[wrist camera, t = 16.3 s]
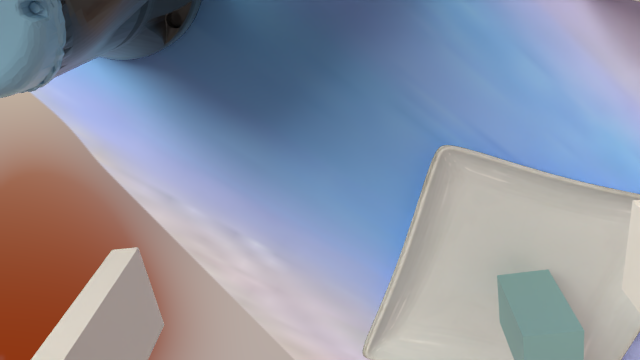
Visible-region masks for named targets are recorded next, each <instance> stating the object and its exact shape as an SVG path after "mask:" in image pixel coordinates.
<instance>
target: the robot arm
mask: <svg viewBox="0 0 640 360" xmlns="http://www.w3.org/2000/svg"><path fill="white" fill-rule="evenodd" d="M200 4H201V0H0V98H3V97H7V96H11V95H13V94H16V93H24V92H27V91H28V92H31V91H35V90H36V89H38V88H39V87H43V86H45V85H46V84H47V83H49V82H50V81H51V80H52V79H53V78H55V77H57V76H59V75H61V74H63V73H65V72H68V71H70V70H72V69H74V68H76V67H78V66H80V65H82V64H84V63H86V62H89V61H91V60H93V59H95V58H97V57H103V58H107V59H114V60H131V59H138V58H143V57H147V56H150V55H152V54H155V53H157V52H159V51H161V50H162V49H164V48H166V47H168V46H169V45H171V44H172V43H174V42H175V41H176V40H178V39H179V38H180V37H181V36H182V35H183V34H184V33H185V32H186V30H187V29H188V28H189V26H190V25H191V23H192V22H193V20H194V18H195V16H196V14H197V12H198V9H199V7H200ZM622 290H623V291H624V293H625V294H626V295H627V297H628V298H629V299H630V301H631V302H632V303H633V305H634V306H635V307H636V309H637V310H638V311H639V313H640V200H633V201H632V209H631V217H630V225H629V233H628V241H627V249H626V257H625V265H624V273H623V281H622ZM163 326H164V323H163V320H162V317H161V314H160V311H159V308H158V305H157V302H156V299H155V296H154V293H153V290H152V287H151V284H150V281H149V278H148V275H147V272H146V269H145V266H144V264H143V260H142V257H141V254H140V251H139V249H138V248H128V249H118V250H112V251H111V252H110V254H109V255H108V256H107V258H106V259H105V261H104V262H103V263H102V265H101V266H100V267H99V269H98V270H97V271H96V273H95V274H94V275H93V277H92V278H91V279H90V281H89V282H88V283H87V285H86V286H85V288H84V289H83V290H82V292H81V293H80V294H79V296H78V297H77V298H76V300H75V301H74V302H73V304H72V305H71V306H70V308H69V309H68V311H67V312H66V313H65V315H64V316H63V317H62V319H61V320H60V321H59V323H58V324H57V325H56V327H55V328H54V329H53V331H52V332H51V334H50V335H49V336H48V337H47V339H46V340H45V341H44V343H43V344H42V346H41V347H40V348H39V350H38V351H37V352H36V354H35V355H34V357H33V358H32V359H31V360H148V358H149V356H150V354H151V352H152V350H153V348H154V345H155V343H156V341H157V339H158V337H159V335H160V333H161V330H162V328H163Z"/></svg>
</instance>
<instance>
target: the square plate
mask: <svg viewBox="0 0 640 360" xmlns="http://www.w3.org/2000/svg"><path fill="white" fill-rule="evenodd" d="M633 200H640V194H636V193H631V192H626V191H621V190H616V189H612V188H607V187H603V186H598V185H593V184H589V183H585V182H581V181H576V180H573V179H569V178H565V177H561V176H557V175H553V174H550V173H546V172H543V171H540V170H536V169H533V168H529V167H526V166H523V165H519V164H516V163H513V162H509V161H506V160H503V159H500V158H496V157H493V156H490V155H487V154H483V153H480V152H477V151H473V150H469V149H466V148H462V147H458V146H451V145H444V146H441V147H439V148H438V149H437V151H436V153H435V155H434V157H433V159H432V162H431V164H430V167H429V170H428V173H427V175H426V178H425V181H424V184H423V188H422V191H421V194H420V197H419V200H418V203H417V206H416V209H415V212H414V216H413V219H412V222H411V225H410V228H409V230H408V233H407V237H406V240H405V243H404V246H403V248H402V251H401V254H400V257H399V259H398V262H397V265H396V267H395V270H394V273H393V275H392V278H391V281H390V283H389V286H388V288H387V291H386V293H385V296H384V298H383V300H382V303H381V305H380V307H379V310H378V312H377V314H376V317H375V319H374V321H373V324H372V326H371V329H370V331H369V334H368V336H367V339H366V341H365V344H364V348H363V355H364V356H365V357H366V358H369V359H371V360H514V358H513V356H512V353H511V350H510V348H509V345H508V343H507V340H506V337H505V335H504V332H503V329H502V327H501V324H500V319H499V302H498V284H497V275H504V274H512V273H521V272H529V271H538V270H546V269H548V270H549V271H550V273H551V275H552V276H553V278H554V280H555V281H556V283H557V285H558V287H559V288H560V290H561V292H562V293H563V295H564V297H565V298H566V300H567V302H568V304H569V305H570V307H571V309H572V310H573V312H574V314H575V315H576V317H577V319H578V321H579V322H580V324H581V326H582V327H583V329H584V360H621V359H622V358H623V356H624V355H625V353H626V352H627V350H628V349H629V347H630V346H631V344H632V342H633V341H634V339H635V338H636V336H637V335H638V333H639V332H640V313H639V311H638V310H637V309H636V307H635V306H634V305H633V303H632V302H631V301H630V299H629V298H628V297H627V295H626V294H625V293H624V291H623V290H622V281H623V273H624V265H625V257H626V249H627V241H628V233H629V225H630V217H631V209H632V201H633Z"/></svg>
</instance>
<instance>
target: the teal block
mask: <svg viewBox="0 0 640 360" xmlns="http://www.w3.org/2000/svg"><path fill="white" fill-rule="evenodd" d="M497 284H498V302H499V319H500V324H501V327H502V329H503V332H504V335H505V337H506V340H507V343H508V345H509V348H510V350H511V353H512V356H513V358H514V360H584V329H583V327H582V326H581V324H580V322H579V321H578V319H577V317H576V315H575V314H574V312H573V310H572V309H571V307H570V305H569V304H568V302H567V300H566V298H565V297H564V295H563V293H562V292H561V290H560V288H559V287H558V285H557V283H556V281H555V280H554V278H553V276H552V275H551V273H550V271H549V270H548V269H546V270H538V271H529V272H521V273H512V274H504V275H497Z"/></svg>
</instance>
